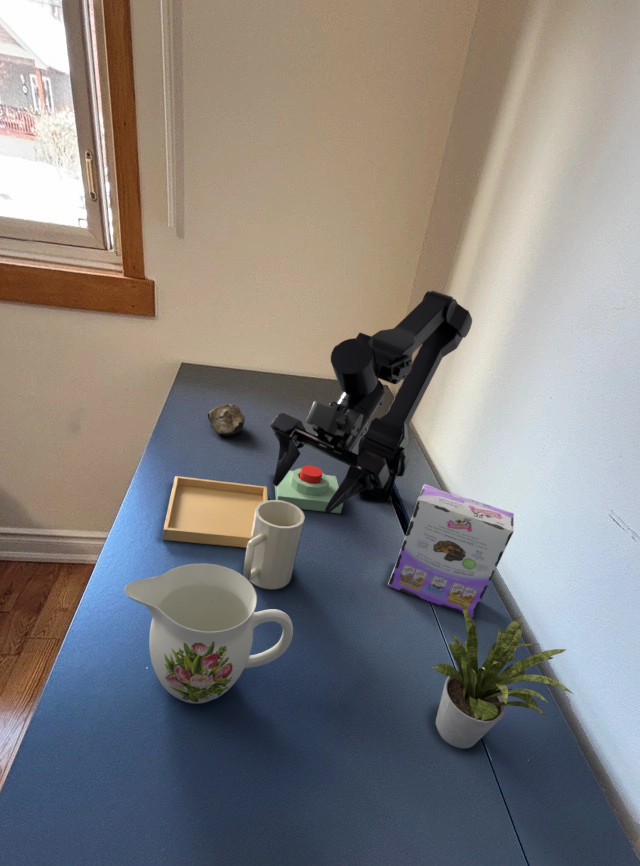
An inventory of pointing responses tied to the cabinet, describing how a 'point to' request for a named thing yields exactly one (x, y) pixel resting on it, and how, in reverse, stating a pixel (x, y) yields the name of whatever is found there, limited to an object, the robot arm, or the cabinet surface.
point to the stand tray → (212, 511)
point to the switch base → (307, 492)
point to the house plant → (485, 684)
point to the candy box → (451, 549)
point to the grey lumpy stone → (226, 419)
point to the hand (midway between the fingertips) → (300, 498)
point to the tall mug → (273, 544)
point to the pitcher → (204, 629)
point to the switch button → (311, 474)
